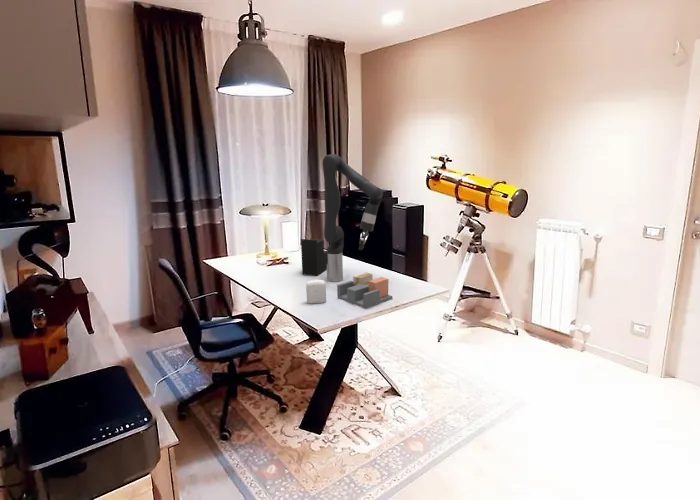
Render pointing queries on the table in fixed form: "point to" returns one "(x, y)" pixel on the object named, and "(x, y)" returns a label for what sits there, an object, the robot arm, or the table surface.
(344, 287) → the grey slotted tray
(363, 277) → the ash plug
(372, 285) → the terracotta plug
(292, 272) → the table surface
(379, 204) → the robot arm
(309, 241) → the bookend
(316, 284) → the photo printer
